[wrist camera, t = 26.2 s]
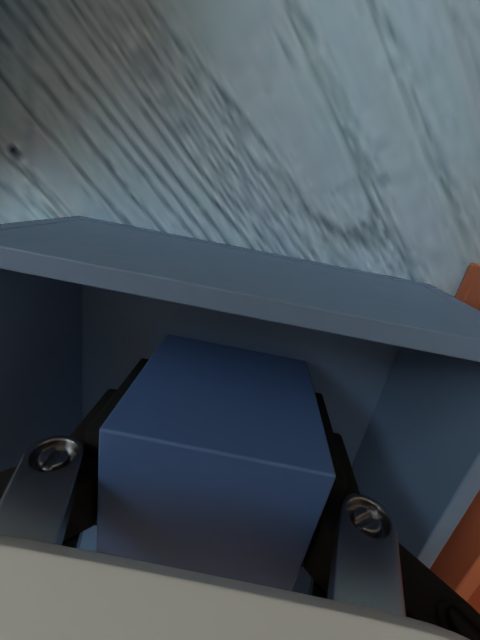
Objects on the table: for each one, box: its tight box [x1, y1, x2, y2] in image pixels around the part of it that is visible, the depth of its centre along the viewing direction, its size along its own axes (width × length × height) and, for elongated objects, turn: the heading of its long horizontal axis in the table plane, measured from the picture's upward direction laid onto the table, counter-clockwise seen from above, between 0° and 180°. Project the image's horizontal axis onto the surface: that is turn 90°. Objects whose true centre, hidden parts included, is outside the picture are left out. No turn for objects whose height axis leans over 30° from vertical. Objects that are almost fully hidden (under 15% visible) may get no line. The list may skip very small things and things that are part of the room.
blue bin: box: [0, 216, 480, 595], centre depth 11 cm, size 13×11×6 cm
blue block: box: [96, 334, 336, 591], centre depth 10 cm, size 5×5×5 cm
